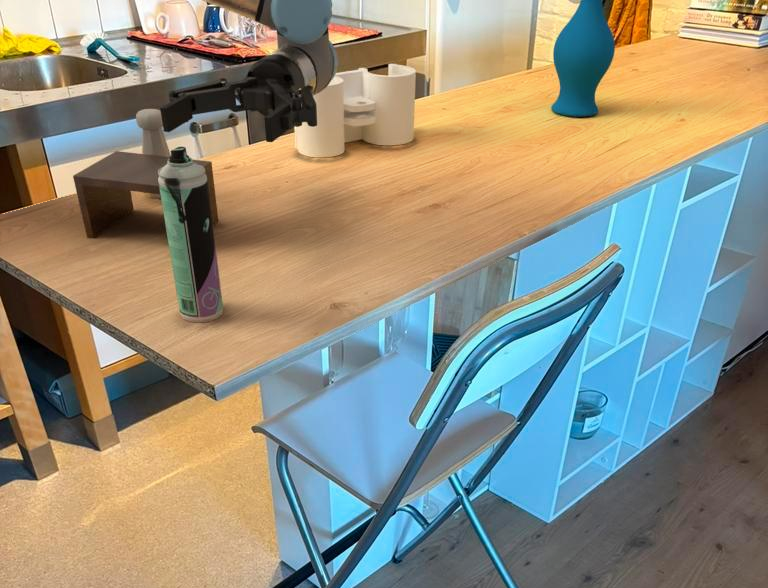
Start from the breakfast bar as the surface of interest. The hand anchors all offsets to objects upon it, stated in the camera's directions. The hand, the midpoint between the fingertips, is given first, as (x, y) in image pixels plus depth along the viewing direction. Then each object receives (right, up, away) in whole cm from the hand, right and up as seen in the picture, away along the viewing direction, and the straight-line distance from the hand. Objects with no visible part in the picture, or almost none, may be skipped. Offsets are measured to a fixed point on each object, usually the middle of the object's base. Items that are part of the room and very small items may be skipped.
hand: (215, 125), depth 98 cm
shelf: (-15, -3, +27) cm, 31 cm away
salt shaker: (-17, +6, +38) cm, 42 cm away
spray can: (-3, -21, +6) cm, 22 cm away
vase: (+62, +41, +80) cm, 109 cm away
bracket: (+15, +25, +61) cm, 67 cm away
